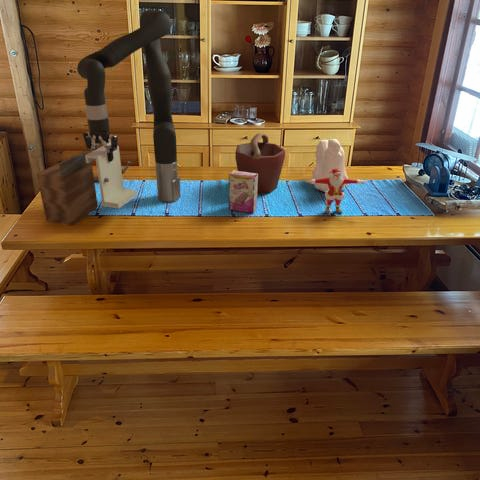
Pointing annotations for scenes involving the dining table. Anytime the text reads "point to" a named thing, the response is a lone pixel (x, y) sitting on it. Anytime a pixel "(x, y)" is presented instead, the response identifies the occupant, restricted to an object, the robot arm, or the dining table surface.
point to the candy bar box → (243, 191)
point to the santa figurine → (335, 188)
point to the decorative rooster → (328, 162)
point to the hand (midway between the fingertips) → (103, 160)
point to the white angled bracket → (110, 178)
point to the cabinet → (68, 190)
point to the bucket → (261, 162)
